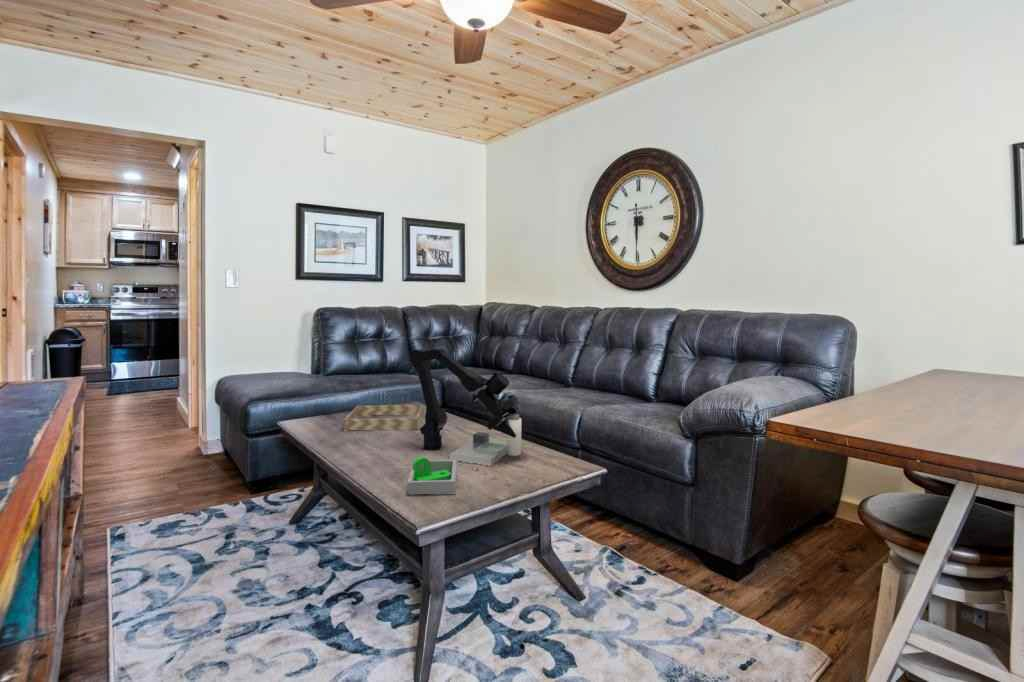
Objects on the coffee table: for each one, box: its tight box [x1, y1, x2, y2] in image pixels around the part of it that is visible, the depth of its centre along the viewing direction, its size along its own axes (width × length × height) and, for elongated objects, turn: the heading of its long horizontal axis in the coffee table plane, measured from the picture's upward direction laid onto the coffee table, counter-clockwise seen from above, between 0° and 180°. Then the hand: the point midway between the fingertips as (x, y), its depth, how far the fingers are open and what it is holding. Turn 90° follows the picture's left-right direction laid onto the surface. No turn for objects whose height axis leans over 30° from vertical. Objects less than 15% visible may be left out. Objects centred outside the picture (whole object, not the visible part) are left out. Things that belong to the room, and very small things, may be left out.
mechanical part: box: [411, 456, 452, 481], centre depth 174 cm, size 12×6×8 cm, turn 122°
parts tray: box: [406, 459, 458, 495], centre depth 172 cm, size 14×20×4 cm
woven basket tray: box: [343, 404, 425, 431], centre depth 248 cm, size 32×28×5 cm
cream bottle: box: [507, 413, 522, 456], centre depth 195 cm, size 5×5×14 cm
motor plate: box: [449, 431, 508, 467], centre depth 201 cm, size 16×22×6 cm
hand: (518, 435), depth 195 cm, fingers closed on cream bottle, 5 cm apart
